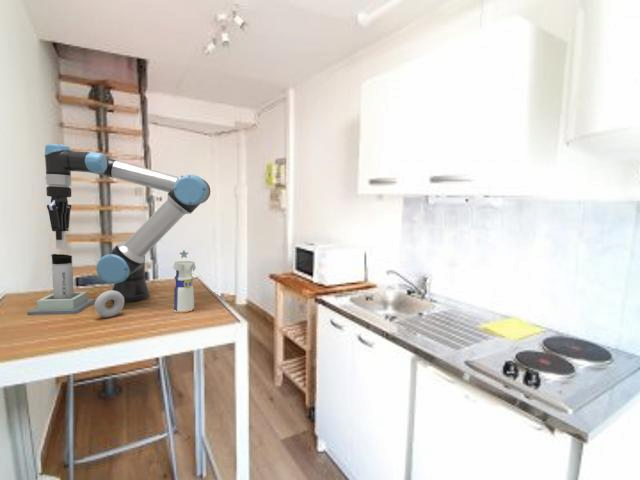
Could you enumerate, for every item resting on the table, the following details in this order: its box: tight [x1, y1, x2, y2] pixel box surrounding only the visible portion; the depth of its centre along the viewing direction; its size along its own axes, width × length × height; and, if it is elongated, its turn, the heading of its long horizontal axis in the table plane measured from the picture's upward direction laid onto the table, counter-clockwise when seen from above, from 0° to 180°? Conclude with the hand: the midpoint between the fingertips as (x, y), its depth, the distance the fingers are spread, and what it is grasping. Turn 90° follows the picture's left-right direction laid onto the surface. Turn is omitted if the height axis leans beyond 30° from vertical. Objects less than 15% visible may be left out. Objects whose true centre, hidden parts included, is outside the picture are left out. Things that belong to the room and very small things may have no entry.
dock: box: [27, 291, 96, 316], centre depth 134 cm, size 16×16×5 cm
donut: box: [93, 289, 126, 318], centre depth 125 cm, size 10×4×10 cm, turn 143°
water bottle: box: [172, 249, 196, 311], centre depth 136 cm, size 8×8×25 cm
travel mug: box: [50, 253, 74, 299], centre depth 133 cm, size 6×7×20 cm
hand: (61, 248), depth 131 cm, fingers closed
